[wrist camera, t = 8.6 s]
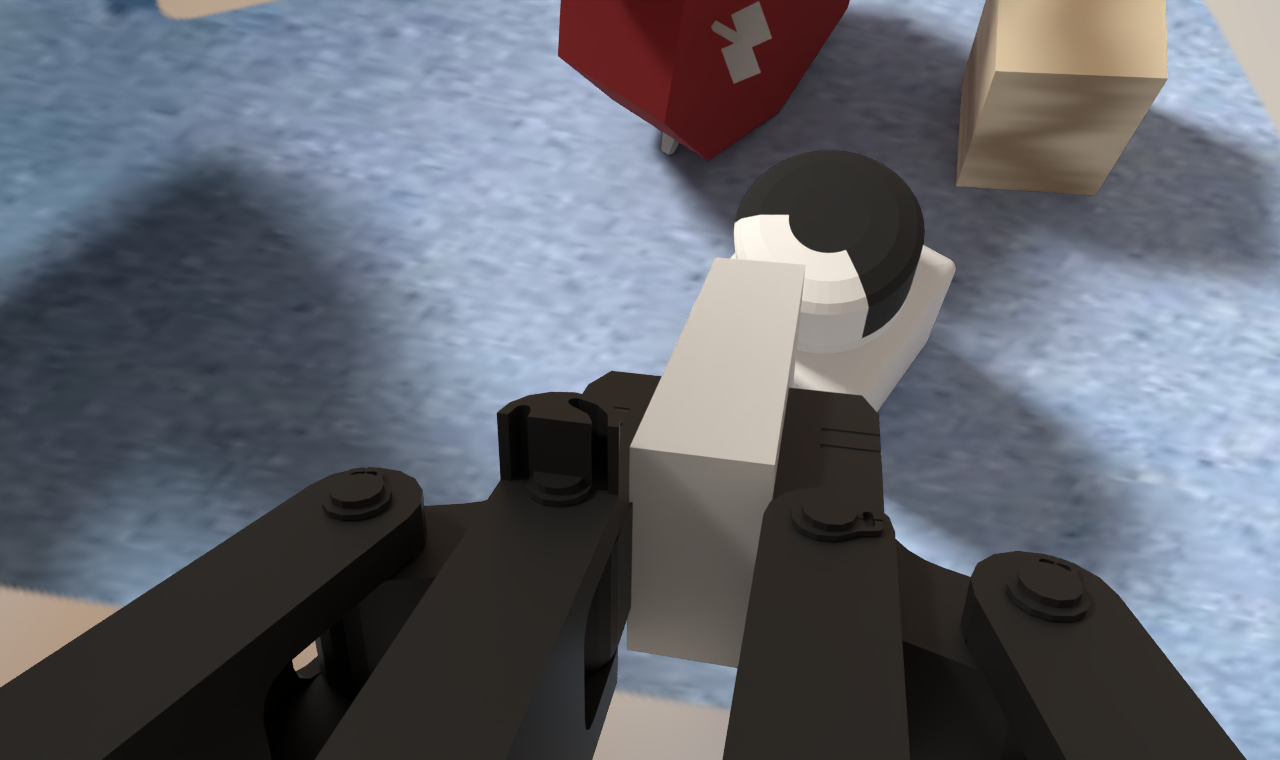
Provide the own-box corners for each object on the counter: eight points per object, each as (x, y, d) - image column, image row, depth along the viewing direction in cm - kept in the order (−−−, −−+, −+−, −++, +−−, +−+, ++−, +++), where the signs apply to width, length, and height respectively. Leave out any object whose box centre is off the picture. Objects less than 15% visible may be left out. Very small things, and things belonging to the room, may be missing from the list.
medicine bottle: (792, 258, 41) (798, 89, 30) (930, 338, 39) (991, 187, 28) (700, 377, 40) (670, 246, 29) (838, 468, 37) (863, 364, 26)
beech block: (955, 186, 41) (995, 70, 34) (962, 79, 43) (1001, -53, 36) (1095, 195, 40) (1168, 78, 33) (1095, 85, 42) (1164, -50, 35)
